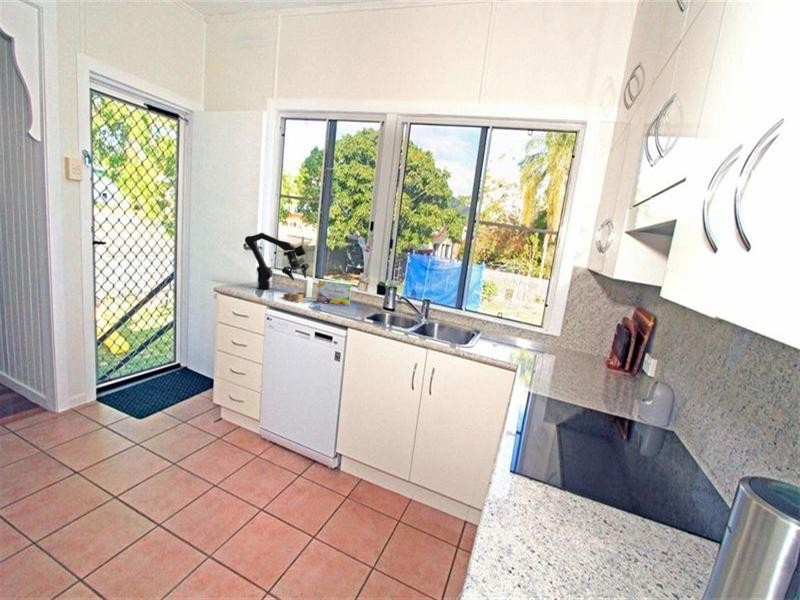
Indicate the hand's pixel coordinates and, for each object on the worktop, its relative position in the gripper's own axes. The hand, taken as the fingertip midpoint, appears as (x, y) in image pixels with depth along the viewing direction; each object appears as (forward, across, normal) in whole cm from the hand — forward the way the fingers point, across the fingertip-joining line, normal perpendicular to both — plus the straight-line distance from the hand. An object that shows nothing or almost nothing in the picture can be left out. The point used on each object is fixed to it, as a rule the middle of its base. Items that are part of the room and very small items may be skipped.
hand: (299, 279), depth 267 cm
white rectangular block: (+14, -1, -3) cm, 15 cm away
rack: (+14, -11, -6) cm, 19 cm away
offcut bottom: (+18, -15, -14) cm, 27 cm away
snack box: (+27, +6, -21) cm, 34 cm away
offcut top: (+16, -15, -15) cm, 26 cm away
